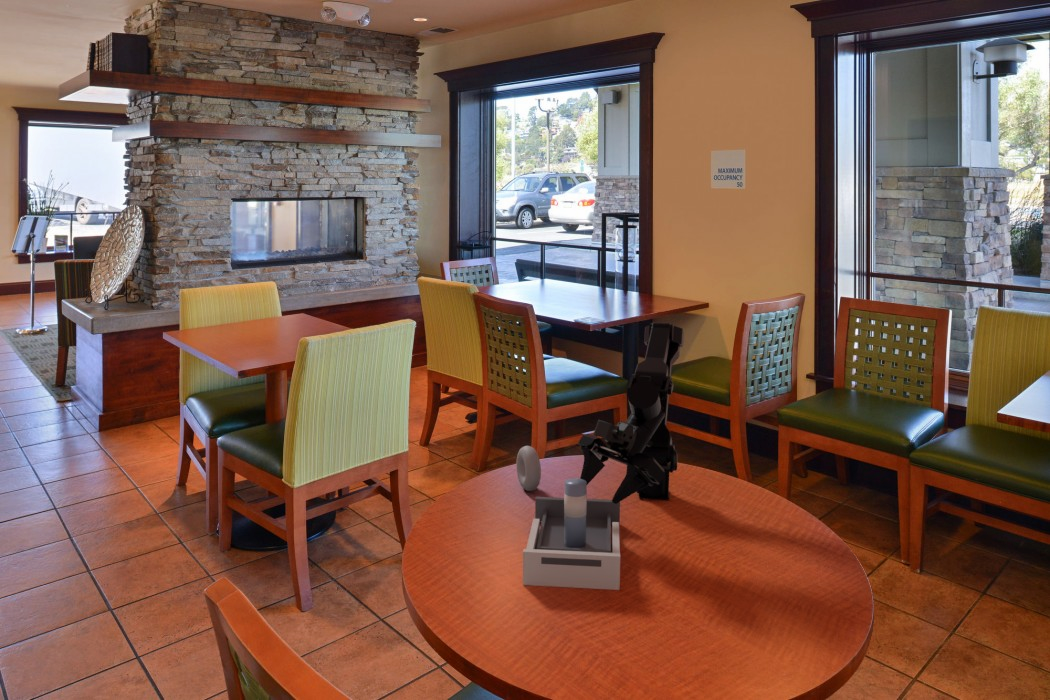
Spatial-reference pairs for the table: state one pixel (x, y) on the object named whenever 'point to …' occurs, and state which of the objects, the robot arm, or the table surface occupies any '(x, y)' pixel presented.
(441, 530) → the table surface
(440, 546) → the table surface
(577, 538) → the canister
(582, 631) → the table surface
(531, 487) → the donut
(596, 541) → the tray
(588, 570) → the dock
